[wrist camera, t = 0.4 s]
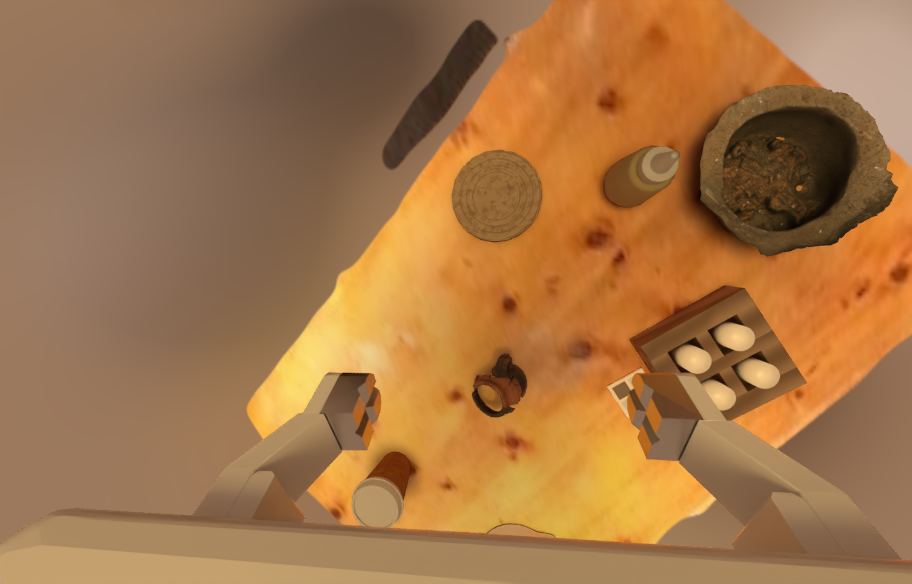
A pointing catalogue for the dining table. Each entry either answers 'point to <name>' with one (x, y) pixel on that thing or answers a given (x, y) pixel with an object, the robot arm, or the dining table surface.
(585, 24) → the dining table surface
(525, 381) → the pottery mug
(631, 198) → the squeeze bottle
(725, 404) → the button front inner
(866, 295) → the dining table surface
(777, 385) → the button board
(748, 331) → the beige egg
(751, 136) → the stone bowl
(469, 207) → the brown wooden disc
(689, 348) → the egg
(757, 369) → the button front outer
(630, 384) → the tile
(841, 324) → the dining table surface
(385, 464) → the disposable coffee cup
